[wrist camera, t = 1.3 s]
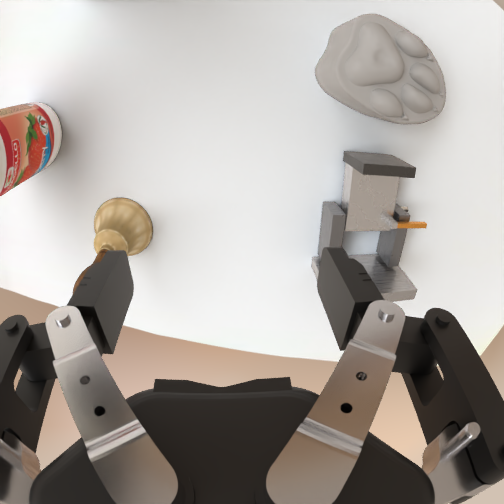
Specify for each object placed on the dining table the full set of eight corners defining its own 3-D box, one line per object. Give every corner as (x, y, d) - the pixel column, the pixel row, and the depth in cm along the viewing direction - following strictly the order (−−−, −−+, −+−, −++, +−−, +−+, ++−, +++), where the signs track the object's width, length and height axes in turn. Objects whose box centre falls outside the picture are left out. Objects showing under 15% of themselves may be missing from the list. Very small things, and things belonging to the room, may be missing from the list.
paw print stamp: (339, 15, 26) (369, -3, 18) (424, 69, 29) (467, 71, 21) (306, 86, 30) (330, 85, 23) (396, 134, 33) (435, 150, 26)
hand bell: (159, 208, 36) (121, 284, 23) (145, 262, 40) (112, 349, 26) (100, 189, 34) (35, 253, 21) (91, 244, 38) (39, 321, 24)
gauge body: (317, 201, 37) (340, 234, 29) (407, 203, 38) (443, 232, 30) (311, 266, 42) (328, 308, 34) (394, 261, 43) (422, 297, 35)
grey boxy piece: (344, 151, 34) (363, 163, 28) (418, 157, 34) (444, 171, 29) (337, 221, 38) (353, 243, 33) (407, 221, 39) (428, 241, 34)
